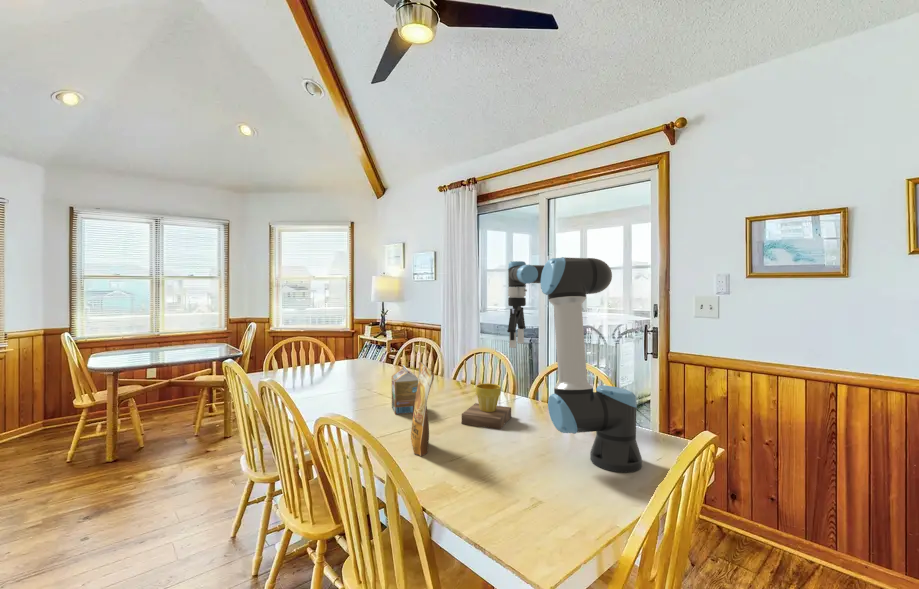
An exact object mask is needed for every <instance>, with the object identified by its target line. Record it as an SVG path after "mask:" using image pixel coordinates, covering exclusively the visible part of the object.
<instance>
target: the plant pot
mask: <svg viewBox="0 0 919 589" xmlns="http://www.w3.org/2000/svg"><path fill="white" fill-rule="evenodd" d="M475 394H476V396H477V401H478V404H479V408H480V410H481V411H484V412H493V411H495V410H496V407H497V406H498V403H499V398H500V396H501V394H502V387H501V385H499V384H496V383H489V382H488V383H479V384H477V385H475Z"/></svg>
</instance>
